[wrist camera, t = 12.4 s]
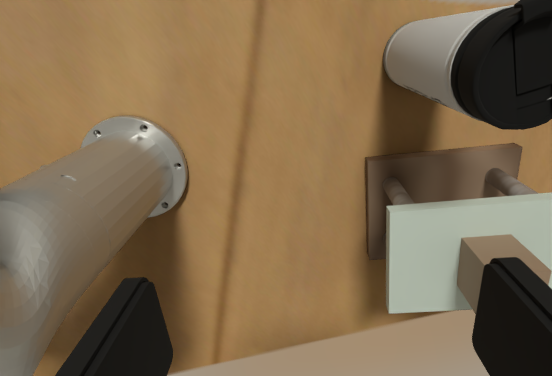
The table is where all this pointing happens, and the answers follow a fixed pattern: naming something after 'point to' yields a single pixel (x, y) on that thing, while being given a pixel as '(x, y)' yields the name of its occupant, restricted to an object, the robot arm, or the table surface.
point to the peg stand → (437, 182)
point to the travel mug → (480, 62)
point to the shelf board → (461, 248)
